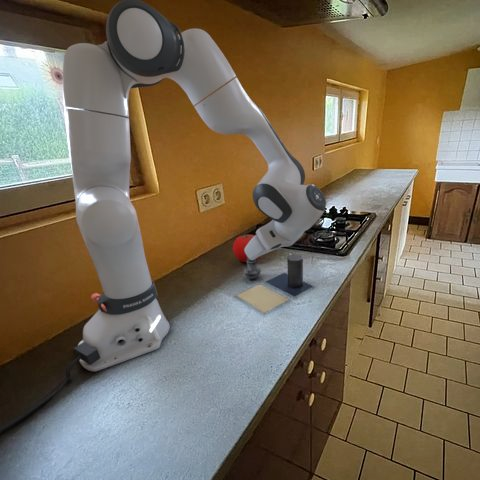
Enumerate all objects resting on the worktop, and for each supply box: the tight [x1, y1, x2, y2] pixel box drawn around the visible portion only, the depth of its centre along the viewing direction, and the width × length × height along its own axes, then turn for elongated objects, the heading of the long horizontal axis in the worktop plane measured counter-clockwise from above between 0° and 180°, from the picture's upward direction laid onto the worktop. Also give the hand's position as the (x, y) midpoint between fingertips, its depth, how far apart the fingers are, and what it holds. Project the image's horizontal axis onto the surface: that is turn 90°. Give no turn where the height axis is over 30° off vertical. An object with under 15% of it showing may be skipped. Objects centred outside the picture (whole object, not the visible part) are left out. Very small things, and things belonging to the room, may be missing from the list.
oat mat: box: [235, 283, 289, 314], centre depth 95 cm, size 10×14×1 cm
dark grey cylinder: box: [286, 254, 304, 289], centre depth 99 cm, size 5×5×10 cm
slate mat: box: [265, 272, 314, 298], centre depth 102 cm, size 9×14×1 cm, turn 42°
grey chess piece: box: [243, 257, 262, 282], centre depth 104 cm, size 6×6×12 cm
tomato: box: [232, 233, 262, 263], centre depth 119 cm, size 12×12×10 cm
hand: (263, 253), depth 97 cm, fingers open, 8 cm apart
